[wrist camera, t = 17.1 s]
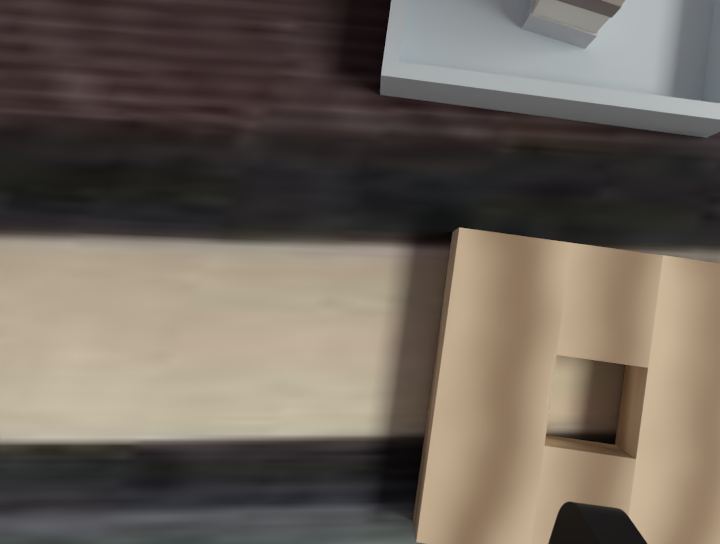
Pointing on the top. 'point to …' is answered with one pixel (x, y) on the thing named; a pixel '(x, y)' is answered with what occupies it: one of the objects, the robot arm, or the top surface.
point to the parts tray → (562, 63)
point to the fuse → (570, 19)
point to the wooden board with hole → (534, 387)
